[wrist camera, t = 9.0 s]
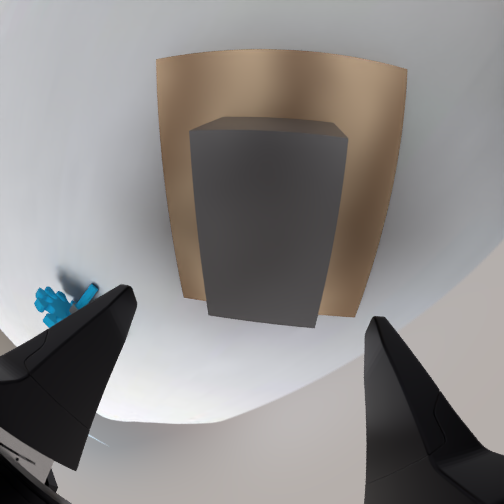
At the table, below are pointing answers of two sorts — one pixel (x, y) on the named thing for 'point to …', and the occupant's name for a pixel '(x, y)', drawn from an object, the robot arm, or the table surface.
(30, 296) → the table surface
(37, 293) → the gear
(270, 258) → the block
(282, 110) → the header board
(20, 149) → the table surface
